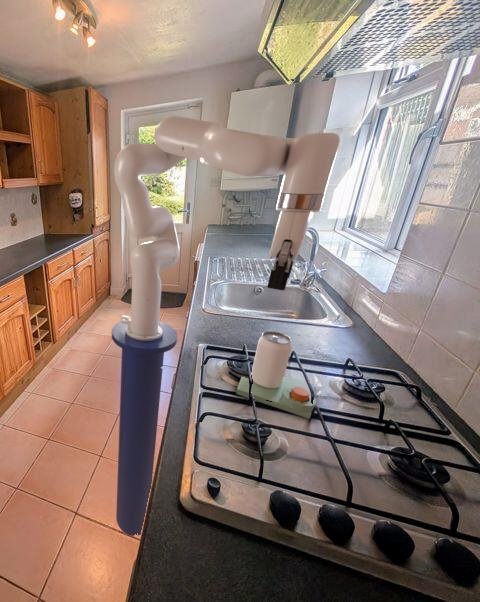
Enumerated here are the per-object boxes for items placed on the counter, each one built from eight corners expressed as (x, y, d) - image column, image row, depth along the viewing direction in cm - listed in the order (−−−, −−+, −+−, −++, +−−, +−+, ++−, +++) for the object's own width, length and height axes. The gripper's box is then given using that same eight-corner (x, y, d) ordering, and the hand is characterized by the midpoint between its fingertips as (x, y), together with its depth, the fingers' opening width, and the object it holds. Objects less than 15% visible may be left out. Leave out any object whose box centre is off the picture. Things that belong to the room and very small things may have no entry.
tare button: (290, 399, 64) (291, 392, 64) (291, 391, 67) (292, 385, 66) (307, 404, 63) (309, 397, 62) (307, 396, 65) (309, 390, 64)
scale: (235, 395, 70) (237, 384, 69) (245, 369, 79) (247, 359, 78) (312, 421, 62) (316, 409, 61) (313, 389, 71) (316, 378, 70)
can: (284, 380, 72) (297, 336, 67) (276, 393, 68) (289, 347, 63) (255, 369, 76) (265, 327, 72) (246, 381, 72) (255, 337, 68)
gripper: (282, 199, 69) (265, 270, 76) (271, 205, 57) (252, 290, 63) (322, 200, 65) (301, 275, 72) (321, 207, 52) (295, 298, 59)
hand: (278, 282), depth 67 cm, fingers open, 9 cm apart
